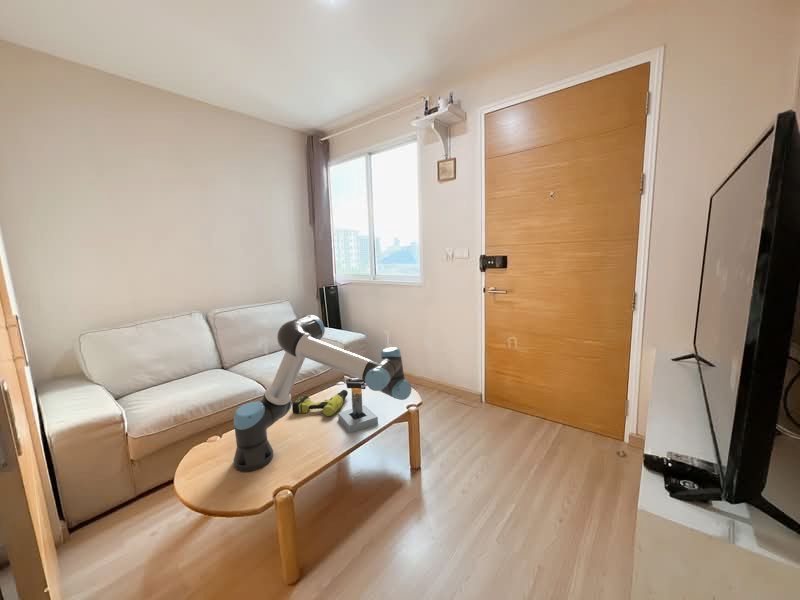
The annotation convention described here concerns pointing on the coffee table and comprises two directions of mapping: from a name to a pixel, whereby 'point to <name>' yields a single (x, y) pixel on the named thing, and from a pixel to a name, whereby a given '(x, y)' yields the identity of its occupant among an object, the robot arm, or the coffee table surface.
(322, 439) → the coffee table surface
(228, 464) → the coffee table surface
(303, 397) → the cordless drill
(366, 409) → the slate holder
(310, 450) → the coffee table surface
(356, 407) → the chuck key rod
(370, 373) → the robot arm
